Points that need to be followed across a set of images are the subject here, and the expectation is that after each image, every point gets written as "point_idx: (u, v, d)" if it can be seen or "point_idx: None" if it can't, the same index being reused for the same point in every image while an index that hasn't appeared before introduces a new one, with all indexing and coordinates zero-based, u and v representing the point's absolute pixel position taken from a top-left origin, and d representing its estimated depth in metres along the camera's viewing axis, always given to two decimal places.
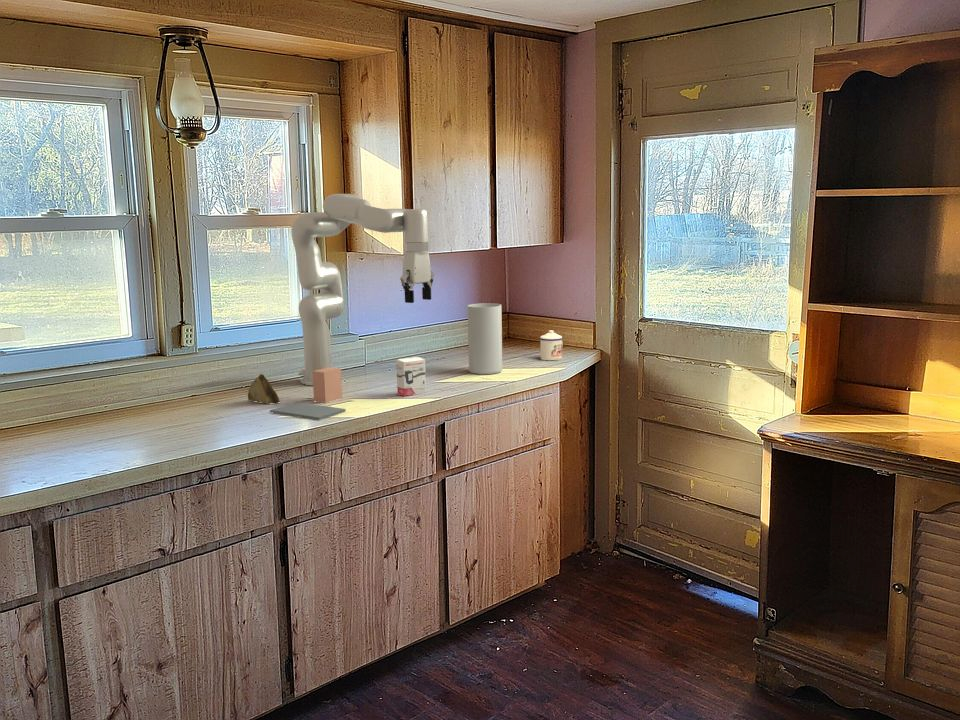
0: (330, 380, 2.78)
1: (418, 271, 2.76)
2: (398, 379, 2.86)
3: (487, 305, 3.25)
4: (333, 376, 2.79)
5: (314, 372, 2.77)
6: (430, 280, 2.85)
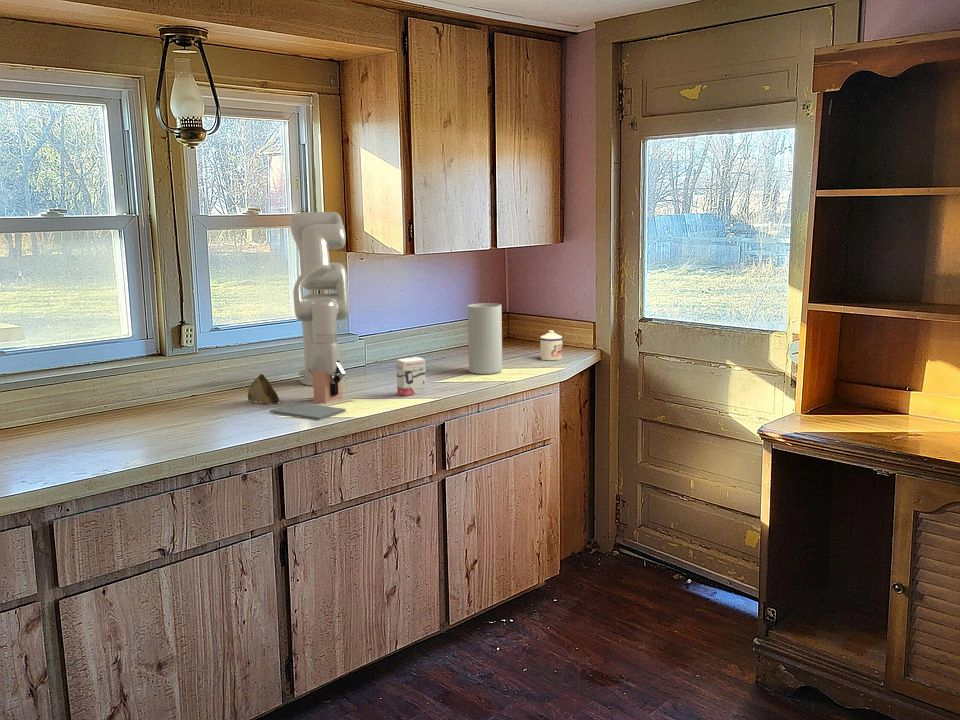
0: (330, 380, 2.78)
1: None
2: (398, 379, 2.86)
3: (487, 305, 3.25)
4: None
5: (314, 372, 2.77)
6: None
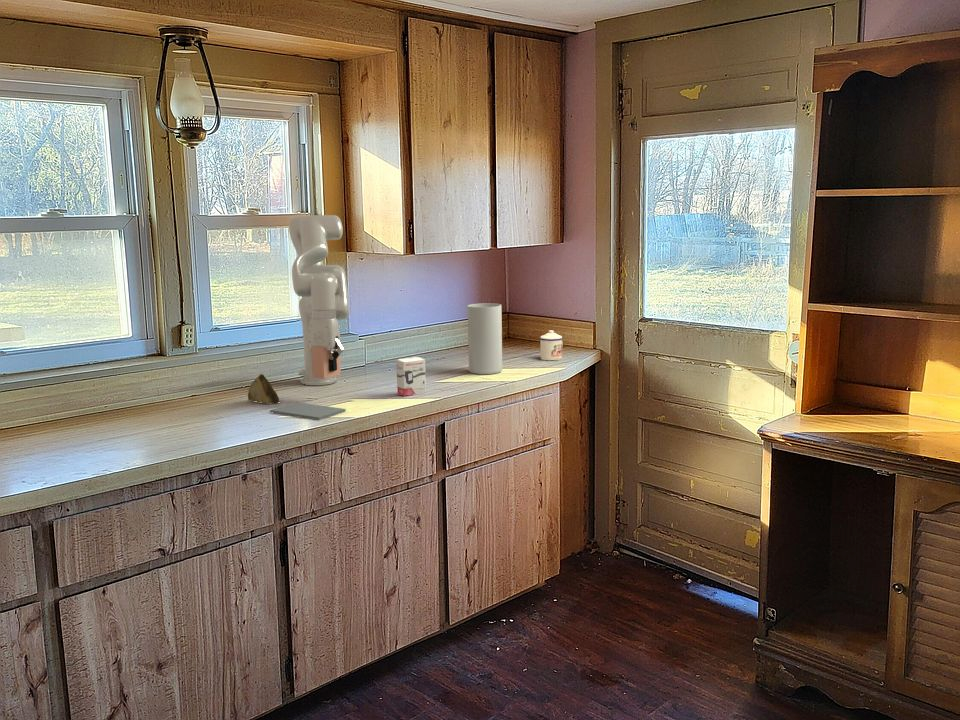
0: (329, 356, 2.77)
1: None
2: (398, 379, 2.86)
3: (487, 305, 3.25)
4: (332, 352, 2.78)
5: (313, 347, 2.76)
6: None
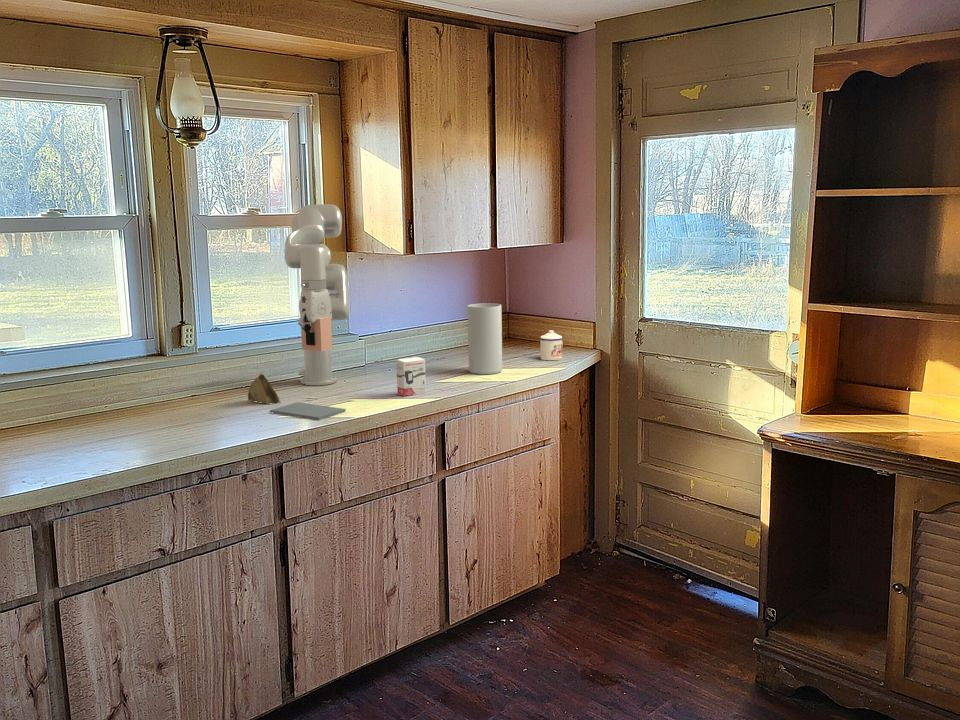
0: None
1: None
2: (398, 379, 2.86)
3: (487, 305, 3.25)
4: None
5: (321, 319, 2.66)
6: None
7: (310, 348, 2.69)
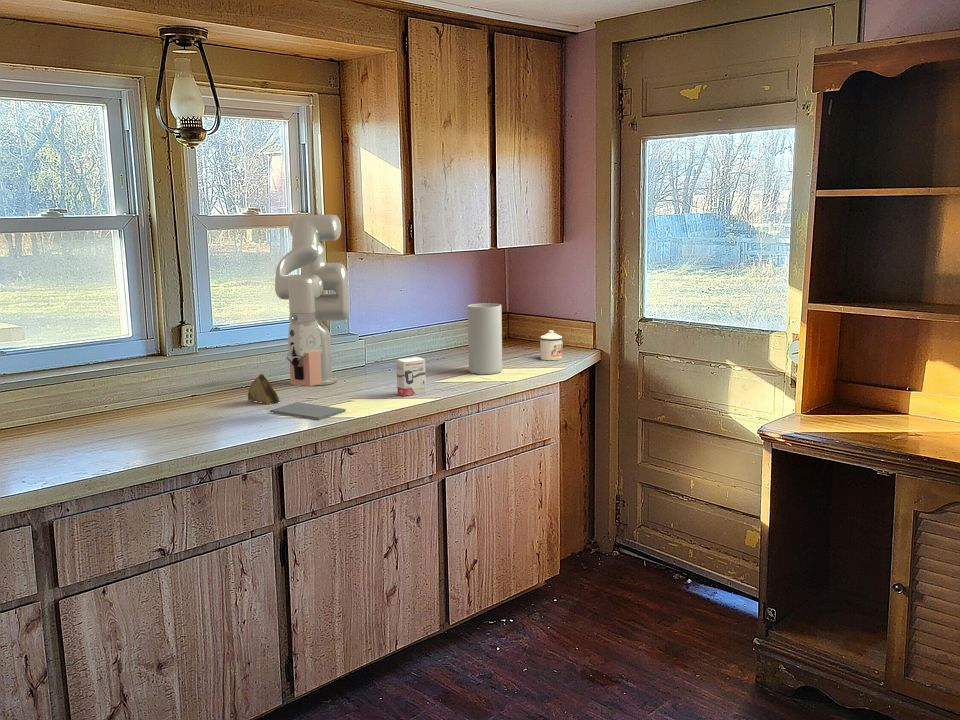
0: None
1: None
2: (398, 379, 2.86)
3: (487, 305, 3.25)
4: None
5: (310, 353, 2.58)
6: None
7: (299, 382, 2.61)
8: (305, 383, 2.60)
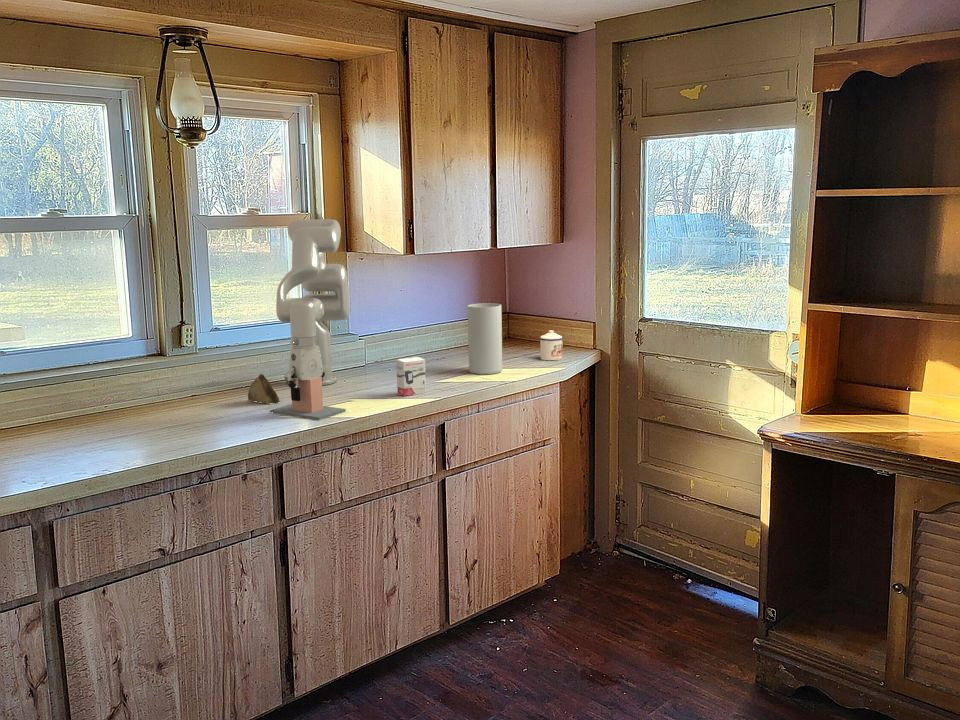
0: None
1: None
2: (398, 379, 2.86)
3: (487, 305, 3.25)
4: None
5: (312, 380, 2.60)
6: None
7: (300, 409, 2.63)
8: (306, 409, 2.62)
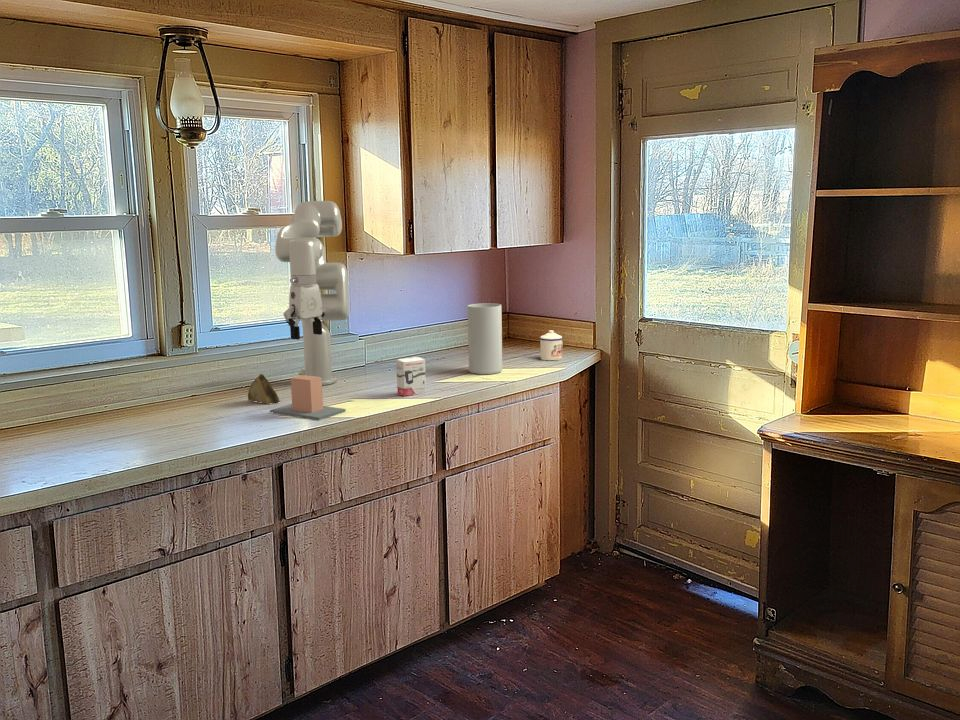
0: None
1: None
2: (398, 379, 2.86)
3: (487, 305, 3.25)
4: None
5: (312, 380, 2.60)
6: None
7: (300, 409, 2.63)
8: (306, 409, 2.62)
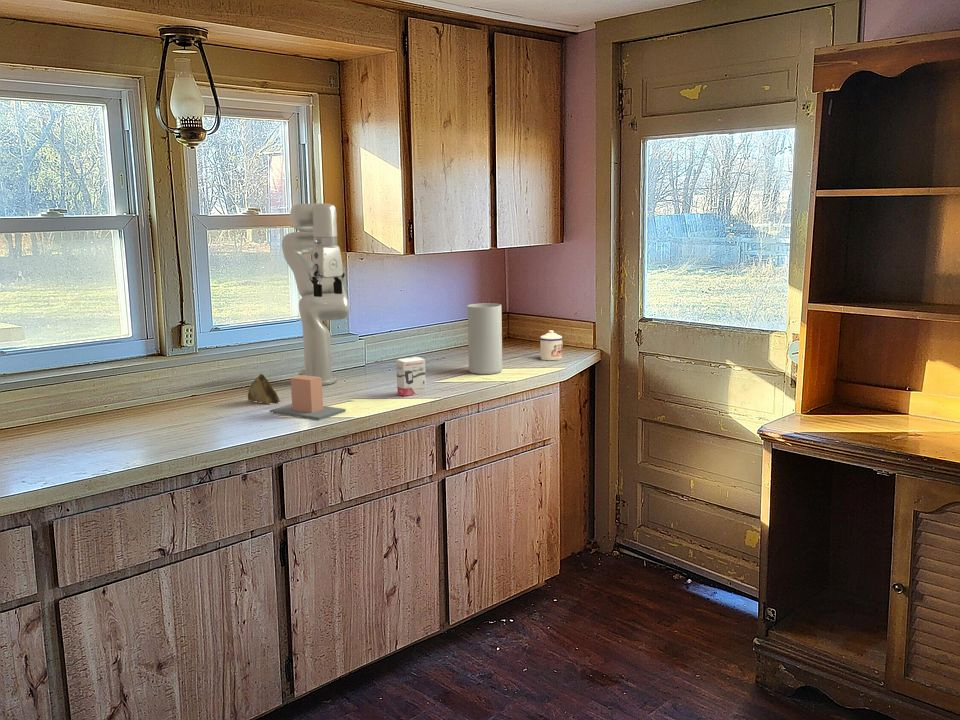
0: None
1: None
2: (398, 379, 2.86)
3: (487, 305, 3.25)
4: None
5: (312, 380, 2.60)
6: None
7: (300, 409, 2.63)
8: (306, 409, 2.62)
